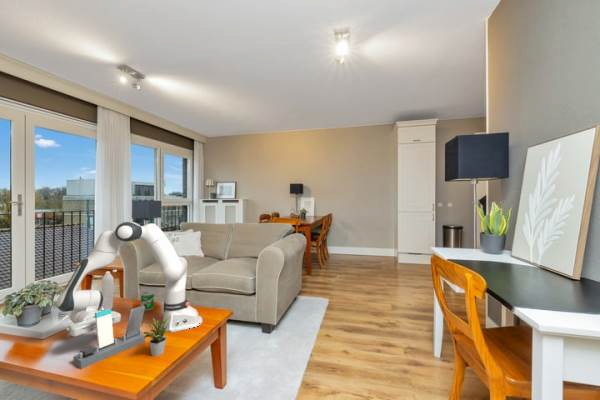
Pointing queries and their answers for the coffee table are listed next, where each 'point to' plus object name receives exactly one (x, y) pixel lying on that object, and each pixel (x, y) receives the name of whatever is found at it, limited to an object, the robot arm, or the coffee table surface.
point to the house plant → (157, 337)
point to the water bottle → (107, 290)
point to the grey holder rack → (108, 350)
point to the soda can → (147, 300)
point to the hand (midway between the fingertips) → (103, 327)
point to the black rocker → (88, 350)
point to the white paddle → (104, 328)
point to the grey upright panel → (134, 321)
